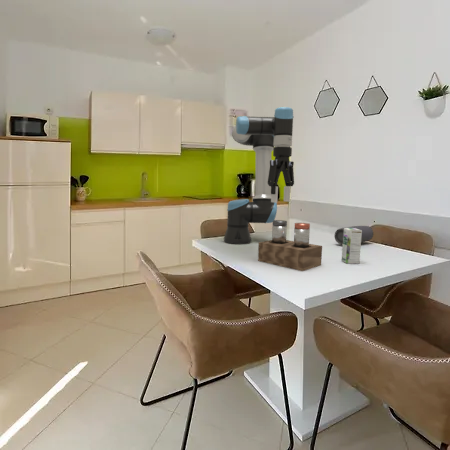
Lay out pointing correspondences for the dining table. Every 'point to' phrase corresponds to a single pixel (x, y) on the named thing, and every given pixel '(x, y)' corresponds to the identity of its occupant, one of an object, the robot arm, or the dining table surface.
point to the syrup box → (351, 245)
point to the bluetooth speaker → (366, 230)
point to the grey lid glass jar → (279, 231)
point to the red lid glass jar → (301, 235)
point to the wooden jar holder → (290, 255)
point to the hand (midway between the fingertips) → (280, 201)
